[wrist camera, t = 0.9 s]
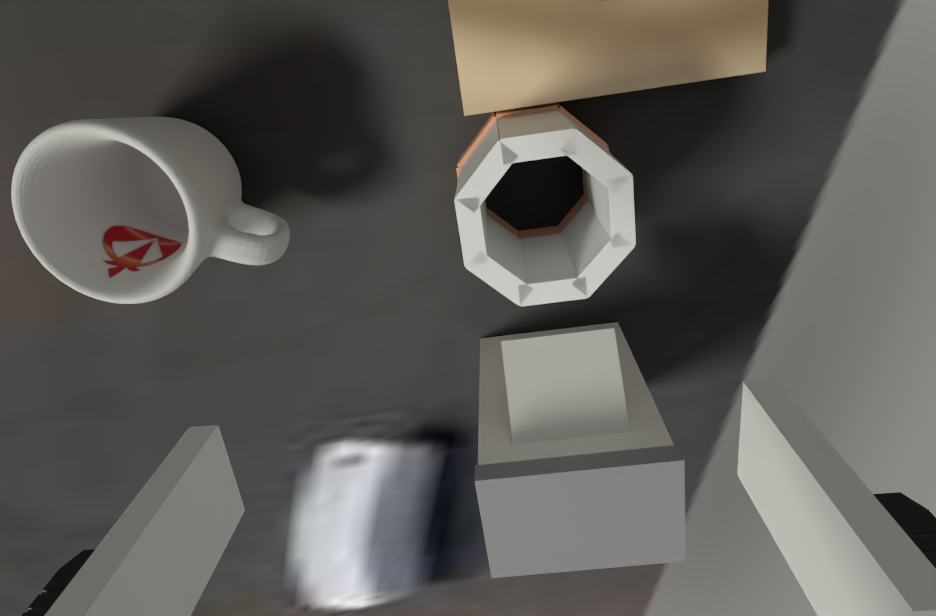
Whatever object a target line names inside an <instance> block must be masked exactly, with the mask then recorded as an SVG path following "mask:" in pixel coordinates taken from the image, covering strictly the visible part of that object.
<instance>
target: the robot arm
mask: <svg viewBox="0 0 936 616" xmlns="http://www.w3.org/2000/svg"><path fill="white" fill-rule="evenodd" d="M737 475H738V477H739V479H740V480H741V482H742V484H743V486H744V487H745V489H746V491H747V493H748V494H749V496H750V498H751V500H752V501H753V503H754V505H755V507H756V508H757V510H758V512H759V514H760V515H761V517H762V519H763V521H764V522H765V524H766V526H767V528H768V529H769V531H770V533H771V534H772V536H773V538H774V540H775V542H776V543H777V545H778V547H779V549H780V550H781V552H782V554H783V555H784V558H785V559H786V561H787V563H788V564H789V566H790V568H791V570H792V571H793V573H794V575H795V577H796V578H797V580H798V582H799V584H800V586H801V587H802V589H803V591H804V592H805V594H806V596H807V598H808V600H809V601H810V603H811V605H812V607H813V608H814V610H815V612H816V614H817V615H818V616H936V518H935V517H934V516H933V515H932V514H931V512H930V511H929V510H927V509H926V508H924V507H923V506H921V505H919V504H918V503H916V502H915V501H913V500H911V499H910V498H908V497H907V496H905V495H903V494H902V493H885V494H872V492H871V491H870V490H869V489H868V488H867V487H866V485H865V484H864V483H863V482H862V481H861V480H860V478H859V477H858V476H857V475H856V474H855V472H854V471H853V470H852V469H851V468H850V467H849V465H848V464H847V463H846V462H845V460H844V459H843V458H842V457H841V456H840V455H839V453H838V452H837V451H836V450H835V449H834V447H833V446H832V445H831V444H830V443H829V442H828V440H827V439H826V438H825V437H824V436H823V434H822V433H821V432H820V431H819V430H818V429H817V427H816V426H815V425H814V424H813V423H812V421H811V420H810V419H809V418H808V417H807V415H806V414H805V413H804V412H803V411H802V410H801V408H800V407H799V406H798V405H797V404H796V402H795V401H794V400H793V399H792V398H791V397H790V395H789V394H788V393H787V392H786V391H785V389H784V388H783V387H782V386H781V385H780V384H779V382H778V381H777V380H776V379H772V380H760V381H747V382H743V393H742V410H741V425H740V441H739V457H738V472H737ZM244 511H245V509H244V505H243V502H242V499H241V496H240V493H239V490H238V486H237V483H236V480H235V477H234V474H233V471H232V468H231V464H230V461H229V458H228V455H227V452H226V449H225V445H224V442H223V439H222V436H221V433H220V430H219V426H218V425H212V426H200V427H189V428H188V430H187V431H186V432H185V434H184V435H183V436H182V437H181V439H180V440H179V441H178V443H177V444H176V445H175V447H174V448H173V449H172V450H171V452H170V453H169V454H168V456H167V457H166V458H165V460H164V461H163V462H162V463H161V465H160V466H159V467H158V469H157V470H156V471H155V473H154V474H153V475H152V476H151V478H150V479H149V480H148V482H147V483H146V484H145V486H144V487H143V488H142V489H141V491H140V492H139V493H138V495H137V496H136V497H135V499H134V500H133V501H132V502H131V504H130V505H129V506H128V508H127V509H126V510H125V512H124V513H123V514H122V515H121V517H120V518H119V519H118V521H117V522H116V523H115V525H114V526H113V527H112V528H111V530H110V531H109V532H108V534H107V535H106V536H105V538H104V539H103V540H102V541H101V543H100V544H99V545H98V547H97V548H96V549H93V550H83V551H82V552H80V553H79V554H78V555H77V556H75V557H74V558H73V559H72V560H70V561H69V562H68V563H67V564H65V565H64V566H63V567H62V568H60V569H59V570H58V571H57V573H56V574H55V575H54V576H53V578H52V579H51V580H50V581H49V583H48V584H47V585H46V586H45V588H44V589H43V590H42V594H41V595H38V596H37V597H36V599H35V600H34V601H33V602H32V604H31V605H30V606H29V607H28V612H26V613H24V614H23V615H22V616H191V614H192V612H193V610H194V608H195V606H196V604H197V602H198V600H199V598H200V596H201V594H202V592H203V591H204V589H205V587H206V585H207V583H208V581H209V579H210V577H211V575H212V573H213V571H214V569H215V567H216V565H217V563H218V561H219V560H220V558H221V556H222V554H223V552H224V550H225V548H226V546H227V544H228V542H229V540H230V538H231V536H232V534H233V532H234V530H235V529H236V527H237V525H238V523H239V521H240V519H241V517H242V515H243V513H244Z"/></svg>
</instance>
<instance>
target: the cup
mask: <svg viewBox="0 0 936 616" xmlns="http://www.w3.org/2000/svg"><path fill="white" fill-rule="evenodd" d="M11 196H12V206H13V210H14V215H15V219H16V222H17V224H18V227H19V229H20V232H21V234H22V236H23V238H24V240H25V242H26V243H27V245H28V246H29V248H30V250H31V251H32V253H33V254H34V255H35V256H36V258H37V259H38V260H39V261H40V262H41V263H42V264H43V266H44V267H45V268H46V269H47V270H48V271H50V272H51V273H52V274H53V275H54V276H55V277H57V278H58V279H59V280H60V281H62V282H63V283H65V284H66V285H68V286H70V287H71V288H73V289H75V290H76V291H78V292H81V293H83V294H85V295H87V296H90V297H93V298H95V299H99V300H102V301H106V302H112V303H120V304H137V303H144V302H149V301H153V300H156V299H159V298H161V297H164V296H166V295H168V294H169V293H171V292H173V291H174V290H176V289H177V288H178V287H180V286H181V285H182V284H183V283H184V282H185V281H186V280H187V279H188V278H189V277H190V276H191V275H192V273H193V272H194V271H195V270H196V269H197V267H198V266H199V265H200V264H201V263H202V261H203V260H204V259H205V258H207V257H217V258H221V259H225V260H228V261H232V262H237V263H241V264H247V265H265V264H270V263H273V262H275V261H277V260H278V259H279V258H280V257H281V256H282V255H283V254H284V253H285V251H286V249H287V246H288V243H289V239H290V229H289V226H288V224H287V223H286V222H285V221H284V220H283V219H282V218H280V217H279V216H277V215H275V214H273V213H270V212H268V211H265V210H262V209H259V208H256V207H253V206H250V205H247V204H244V203H243V202H242V201H241V198H242V184H241V178H240V174H239V171H238V168H237V166H236V163H235V161H234V159H233V158H232V156H231V154H230V153H229V151H228V150H227V149H226V147H225V146H224V145H223V144H222V143H221V142H220V141H219V140H218V139H217V138H216V137H215V136H214V135H212V134H211V133H210V132H208V131H207V130H205V129H204V128H202V127H200V126H198V125H196V124H194V123H191V122H188V121H185V120H181V119H177V118H170V117H135V118H107V119H82V120H74V121H69V122H65V123H61V124H59V125H56V126H54V127H51V128H49V129H47V130H46V131H44V132H43V133H41V134H40V135H38V136H37V137H36V138H35V139H34V140H32V141H31V142H30V144H29V145H28V146H27V147H26V148H25V150H24V151H23V153H22V154H21V156H20V158H19V160H18V162H17V165H16V167H15V170H14V174H13V179H12V191H11ZM249 233H253V234H249ZM254 234H257V235H254Z"/></svg>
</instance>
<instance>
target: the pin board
mask: <svg viewBox="0 0 936 616" xmlns="http://www.w3.org/2000/svg"><path fill="white" fill-rule="evenodd" d="M448 4H449V11H450V18H451V25H452V32H453V39H454V46H455V53H456V60H457V67H458V74H459V82H460V89H461V96H462V103H463V110H464V116H467V115H474V114H481V113H487V112H494V111H501V110H508V109H515V108H521V107H528V106H535V105H542V104H548V103H555V102H562V101H569V100H576V99H582V98H589V97H596V96H603V95H609V94H616V93H623V92H630V91H637V90H643V89H650V88H657V87H664V86H670V85H677V84H684V83H691V82H698V81H704V80H711V79H718V78H725V77H731V76H738V75H745V74H752V73H759V72H765V71H766V49H767V24H768V0H448Z"/></svg>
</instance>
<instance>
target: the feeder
mask: <svg viewBox="0 0 936 616" xmlns="http://www.w3.org/2000/svg"><path fill="white" fill-rule="evenodd" d="M475 485H476V491H477V497H478V503H479V508H480V514H481V520H482V526H483V531H484V537H485V543H486V549H487V554H488V560H489V566H490V572H491V578H498V577H510V576H521V575H533V574H544V573H556V572H567V571H579V570H590V569H602V568H613V567H625V566H636V565H648V564H659V563H671V562H681V561H686V559H685V473H684V458H683V456H682V454H681V452H680V450H679V448H678V445H674V444H673V442H672V440H671V438H670V436H669V433H668V431H667V429H666V427H665V425H664V422H663V420H662V418H661V416H660V414H659V411H658V409H657V407H656V405H655V403H654V401H653V398H652V396H651V394H650V392H649V390H648V387H647V385H646V383H645V381H644V379H643V376H642V374H641V372H640V370H639V368H638V365H637V363H636V361H635V359H634V357H633V354H632V352H631V350H630V348H629V346H628V343H627V341H626V339H625V337H624V335H623V332H622V330H621V328H620V326H619V324H618V322H615V323H607V324H598V325H590V326H581V327H573V328H564V329H556V330H547V331H539V332H531V333H522V334H514V335H505V336H497V337H488V338H480V385H479V436H478V465H475Z"/></svg>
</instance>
